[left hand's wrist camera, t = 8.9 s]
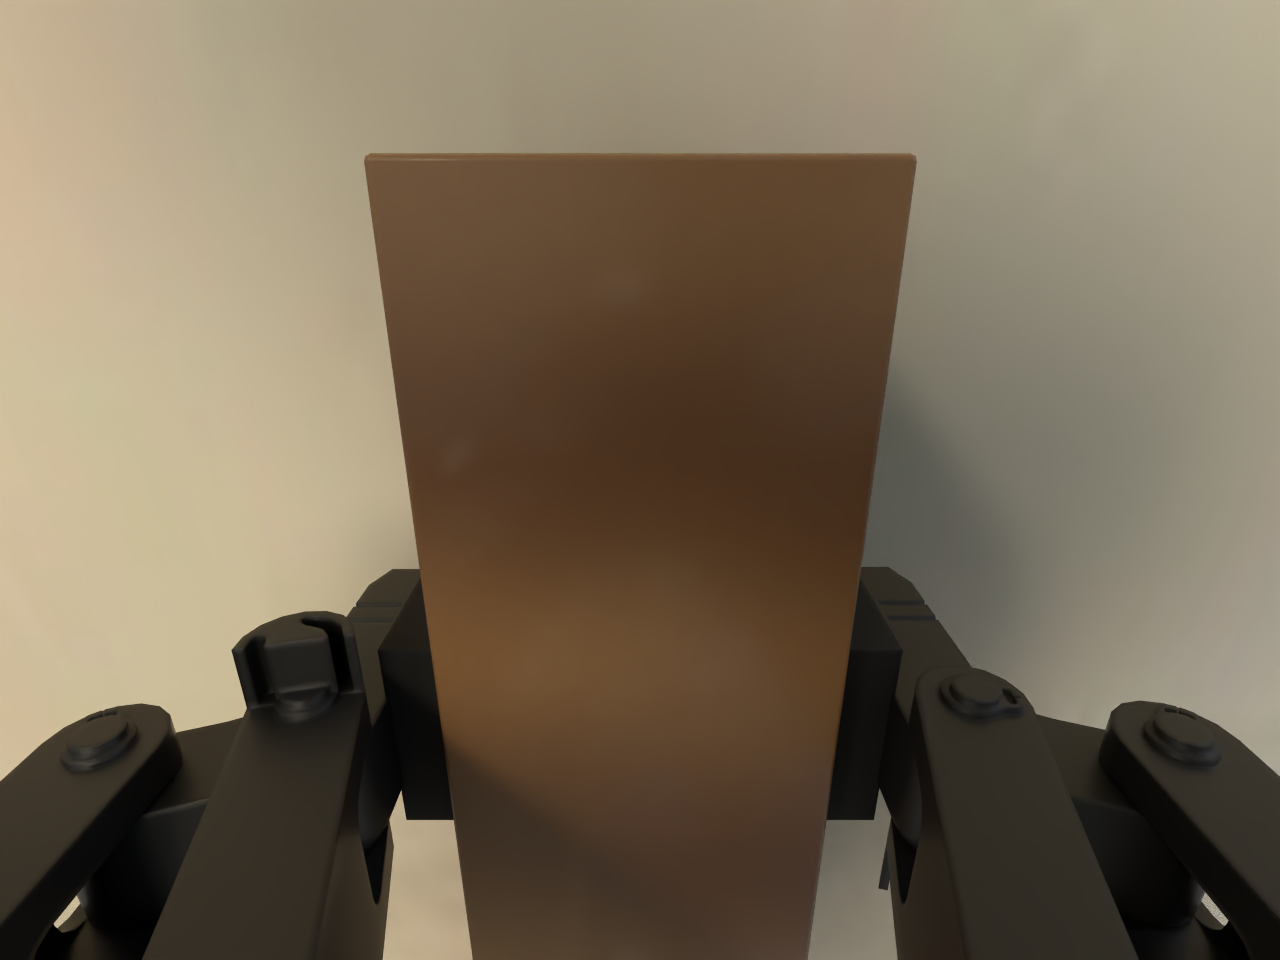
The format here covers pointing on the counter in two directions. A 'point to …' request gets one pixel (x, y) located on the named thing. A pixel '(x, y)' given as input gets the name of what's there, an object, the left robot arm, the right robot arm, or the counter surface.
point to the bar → (640, 523)
